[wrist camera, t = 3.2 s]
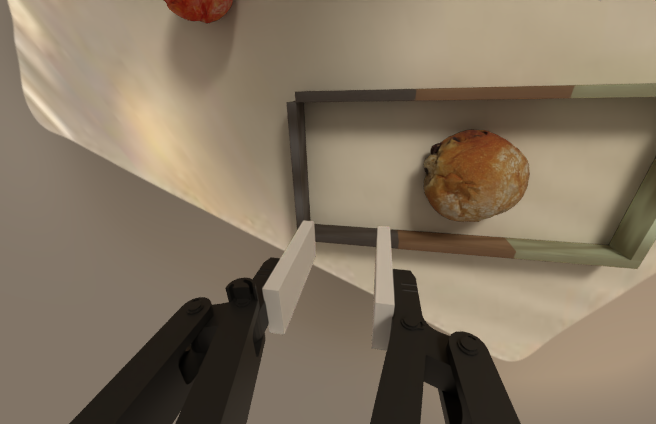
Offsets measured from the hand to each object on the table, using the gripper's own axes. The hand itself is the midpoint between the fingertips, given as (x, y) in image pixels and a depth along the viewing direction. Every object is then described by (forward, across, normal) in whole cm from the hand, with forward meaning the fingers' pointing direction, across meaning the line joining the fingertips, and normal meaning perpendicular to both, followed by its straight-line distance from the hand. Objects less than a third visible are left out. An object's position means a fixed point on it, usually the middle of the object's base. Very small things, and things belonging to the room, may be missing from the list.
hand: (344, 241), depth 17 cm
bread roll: (+17, +12, 0) cm, 21 cm away
